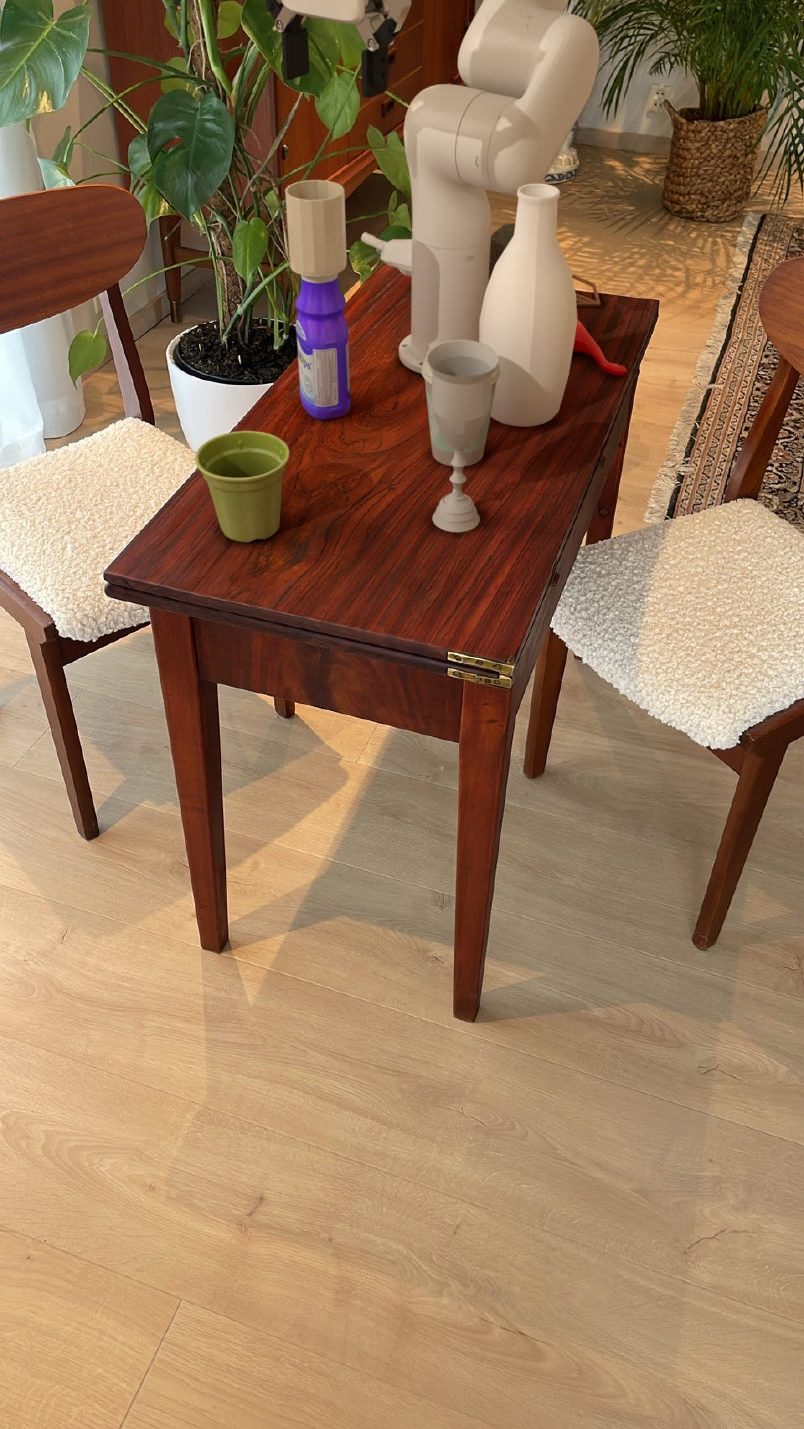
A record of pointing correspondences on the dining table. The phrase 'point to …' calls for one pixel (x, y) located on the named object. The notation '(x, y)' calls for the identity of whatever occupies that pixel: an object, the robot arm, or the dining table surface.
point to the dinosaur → (594, 350)
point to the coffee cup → (438, 442)
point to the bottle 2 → (531, 314)
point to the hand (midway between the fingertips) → (335, 85)
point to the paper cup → (316, 227)
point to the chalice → (460, 418)
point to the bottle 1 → (323, 348)
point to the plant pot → (245, 482)
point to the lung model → (393, 252)
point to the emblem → (584, 300)
